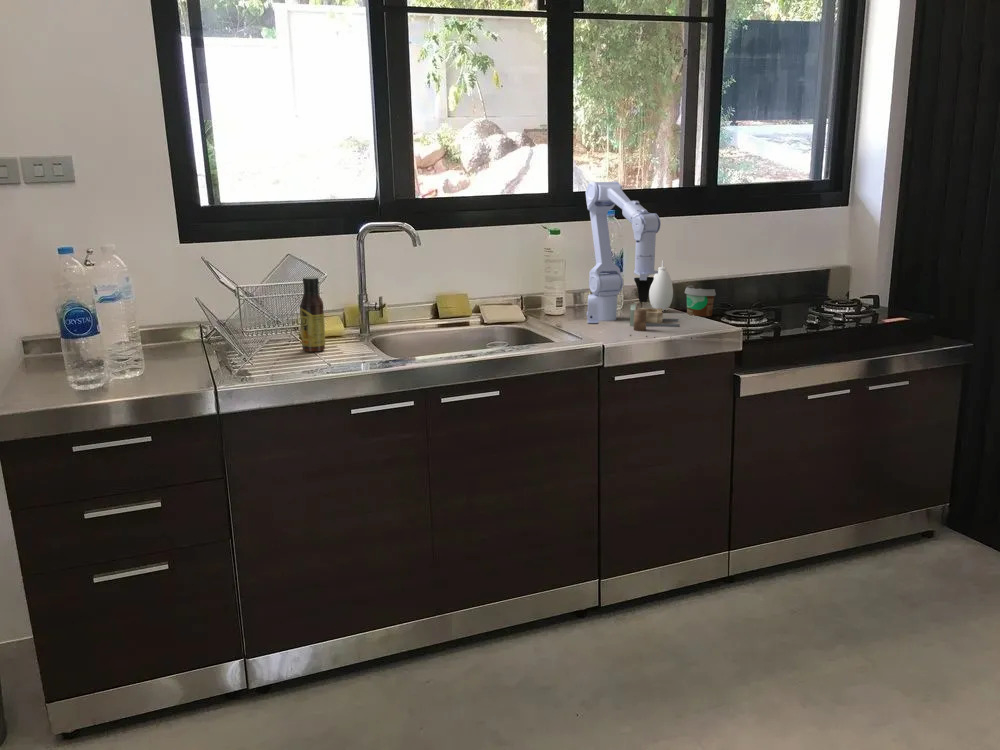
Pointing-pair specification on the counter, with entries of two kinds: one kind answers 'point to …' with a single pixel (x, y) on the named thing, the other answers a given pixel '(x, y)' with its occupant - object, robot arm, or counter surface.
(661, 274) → the sauce bottle
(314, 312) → the sauce bottle
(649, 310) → the maple block
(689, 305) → the food container
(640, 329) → the walnut dowel
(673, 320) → the slide board
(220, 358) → the counter surface
